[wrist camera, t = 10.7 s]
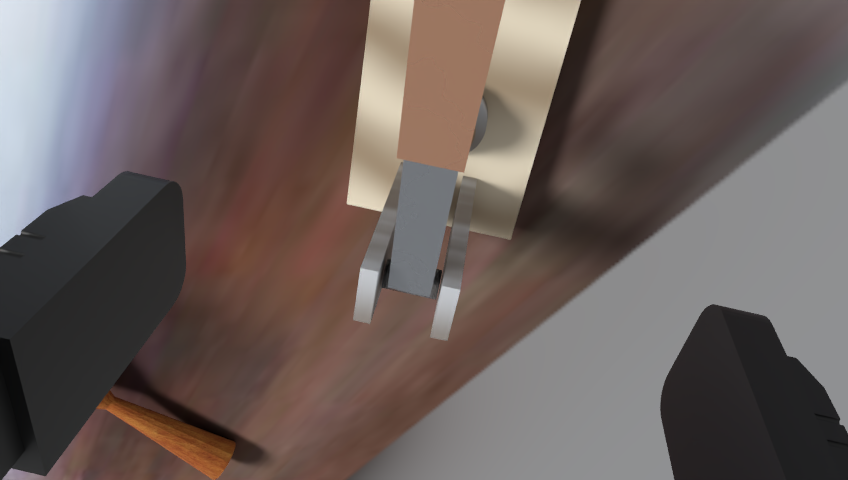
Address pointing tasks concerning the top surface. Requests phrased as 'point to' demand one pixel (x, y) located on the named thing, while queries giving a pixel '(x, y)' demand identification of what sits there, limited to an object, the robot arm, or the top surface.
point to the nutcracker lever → (437, 129)
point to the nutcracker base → (503, 88)
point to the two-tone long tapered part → (175, 436)
